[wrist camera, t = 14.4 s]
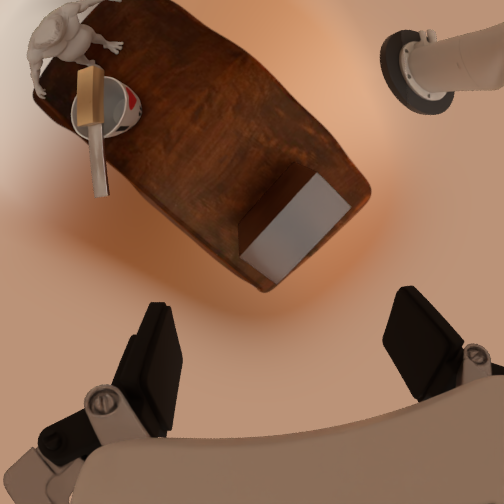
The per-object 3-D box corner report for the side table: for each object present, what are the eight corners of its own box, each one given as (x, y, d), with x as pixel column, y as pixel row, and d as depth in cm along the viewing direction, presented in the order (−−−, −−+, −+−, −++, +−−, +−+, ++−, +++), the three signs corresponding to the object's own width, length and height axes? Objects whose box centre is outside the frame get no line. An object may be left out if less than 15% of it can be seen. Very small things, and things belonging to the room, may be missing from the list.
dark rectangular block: (293, 161, 39) (317, 171, 28) (321, 187, 41) (351, 207, 30) (237, 224, 42) (238, 257, 31) (266, 247, 44) (276, 285, 33)
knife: (89, 74, 22) (77, 70, 20) (104, 69, 23) (93, 65, 20) (96, 197, 29) (84, 203, 26) (110, 195, 29) (100, 200, 26)
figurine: (82, 110, 32) (8, 108, 16) (61, 92, 30) (-11, 85, 14) (155, 25, 28) (112, -28, 11) (130, 10, 26) (82, -38, 9)
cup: (142, 142, 36) (115, 145, 27) (98, 132, 34) (64, 134, 25) (158, 92, 33) (135, 80, 24) (113, 84, 31) (82, 74, 22)
